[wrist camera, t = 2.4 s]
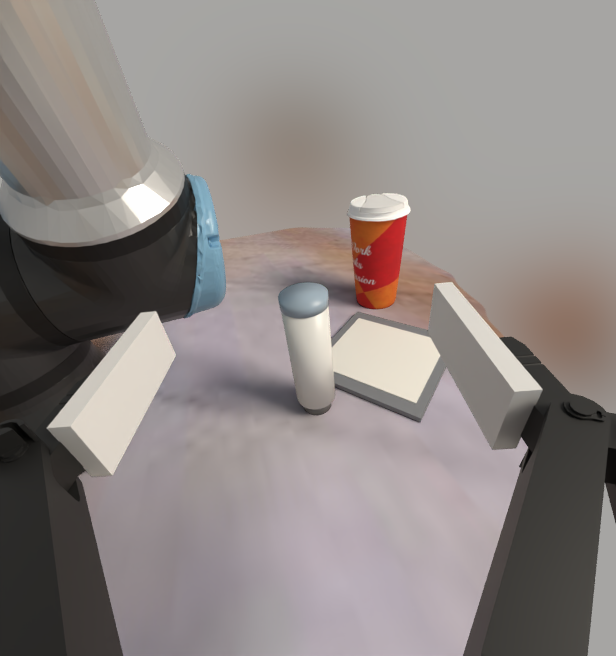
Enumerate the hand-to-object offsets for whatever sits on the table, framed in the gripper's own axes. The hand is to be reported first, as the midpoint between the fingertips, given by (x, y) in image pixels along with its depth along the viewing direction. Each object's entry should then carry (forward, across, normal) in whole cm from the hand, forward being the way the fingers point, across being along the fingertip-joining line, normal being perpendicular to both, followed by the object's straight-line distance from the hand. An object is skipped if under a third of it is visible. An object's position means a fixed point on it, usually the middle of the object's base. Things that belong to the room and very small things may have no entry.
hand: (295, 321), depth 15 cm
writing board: (+17, +8, -17) cm, 25 cm away
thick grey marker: (+10, 0, -18) cm, 20 cm away
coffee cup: (+30, +10, -18) cm, 36 cm away
